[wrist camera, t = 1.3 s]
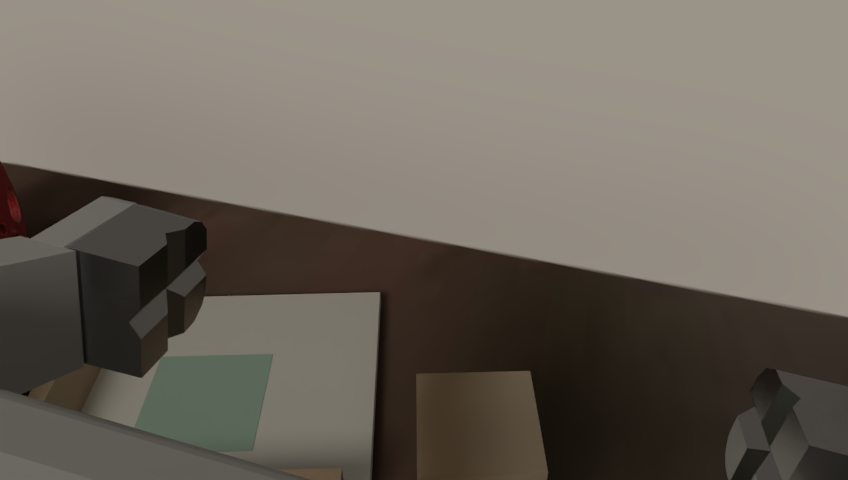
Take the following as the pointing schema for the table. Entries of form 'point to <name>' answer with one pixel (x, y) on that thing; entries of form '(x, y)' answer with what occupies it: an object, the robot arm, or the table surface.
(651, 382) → the table surface
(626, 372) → the table surface
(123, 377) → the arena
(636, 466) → the table surface
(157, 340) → the robot arm
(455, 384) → the beech block
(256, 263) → the table surface
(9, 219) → the plant pot
